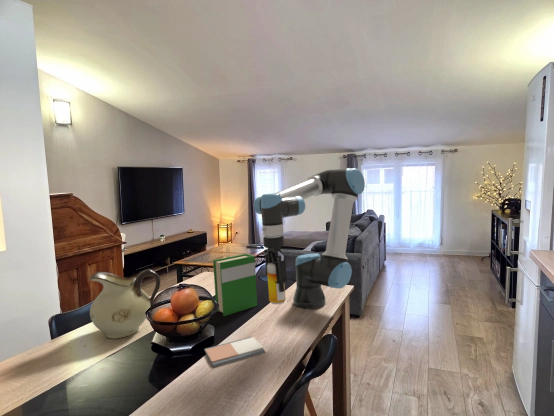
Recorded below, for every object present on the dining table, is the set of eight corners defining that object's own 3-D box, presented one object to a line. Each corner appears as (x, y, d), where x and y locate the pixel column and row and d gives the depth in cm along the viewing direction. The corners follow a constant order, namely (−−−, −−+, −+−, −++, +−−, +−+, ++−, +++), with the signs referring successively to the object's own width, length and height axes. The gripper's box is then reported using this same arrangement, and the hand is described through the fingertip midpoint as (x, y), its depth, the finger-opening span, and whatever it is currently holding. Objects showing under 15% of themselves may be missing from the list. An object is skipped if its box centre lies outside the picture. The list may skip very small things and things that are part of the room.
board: (252, 338, 128) (251, 335, 128) (264, 352, 117) (264, 349, 117) (204, 351, 120) (204, 347, 120) (213, 367, 110) (213, 363, 110)
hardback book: (224, 316, 151) (220, 262, 149) (216, 311, 157) (213, 260, 155) (257, 305, 161) (254, 255, 159) (248, 301, 167) (246, 253, 165)
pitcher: (79, 338, 135) (73, 276, 133) (128, 316, 156) (124, 262, 154) (119, 349, 125) (114, 282, 123) (165, 323, 146) (162, 266, 144)
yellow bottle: (283, 305, 124) (281, 264, 123) (267, 304, 125) (265, 264, 124) (286, 298, 130) (284, 260, 128) (271, 298, 131) (268, 260, 130)
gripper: (254, 233, 132) (258, 291, 134) (275, 241, 115) (279, 307, 117) (271, 231, 135) (275, 288, 138) (294, 238, 118) (298, 302, 120)
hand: (277, 296), depth 127 cm, fingers closed on yellow bottle, 6 cm apart
